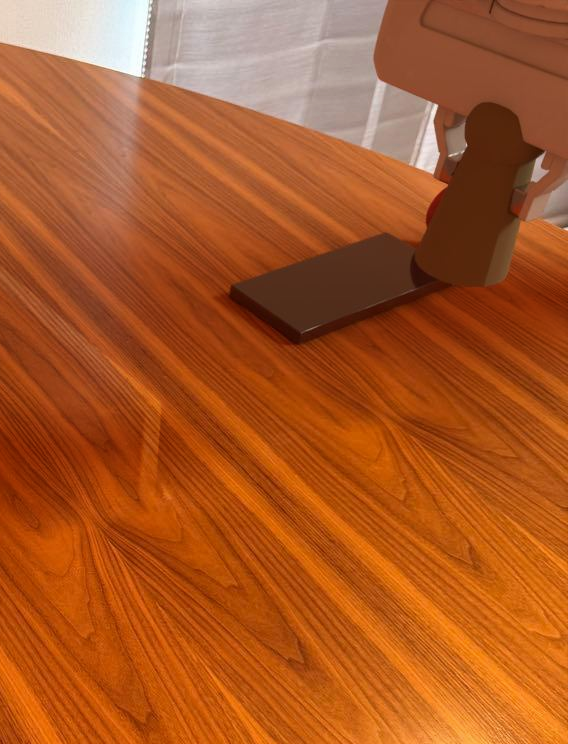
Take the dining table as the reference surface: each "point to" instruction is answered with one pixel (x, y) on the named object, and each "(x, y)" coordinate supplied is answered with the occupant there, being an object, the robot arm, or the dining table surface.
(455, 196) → the pepper mill
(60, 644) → the dining table surface
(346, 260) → the slate strip
